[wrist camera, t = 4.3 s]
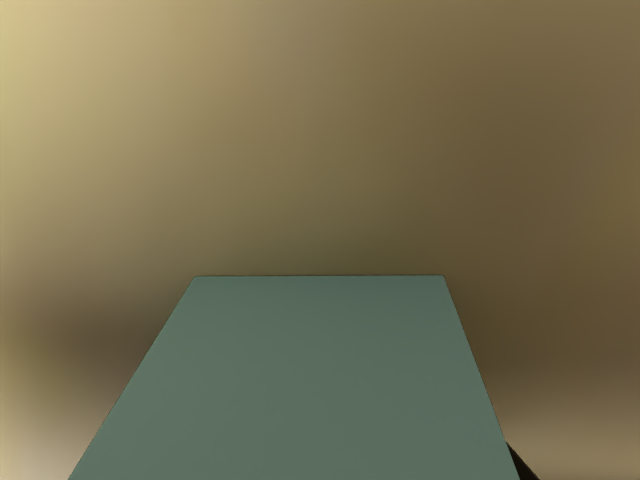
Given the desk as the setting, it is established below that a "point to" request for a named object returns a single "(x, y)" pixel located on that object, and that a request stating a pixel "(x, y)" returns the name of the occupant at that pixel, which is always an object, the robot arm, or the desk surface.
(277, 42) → the desk surface
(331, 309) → the teal cube
